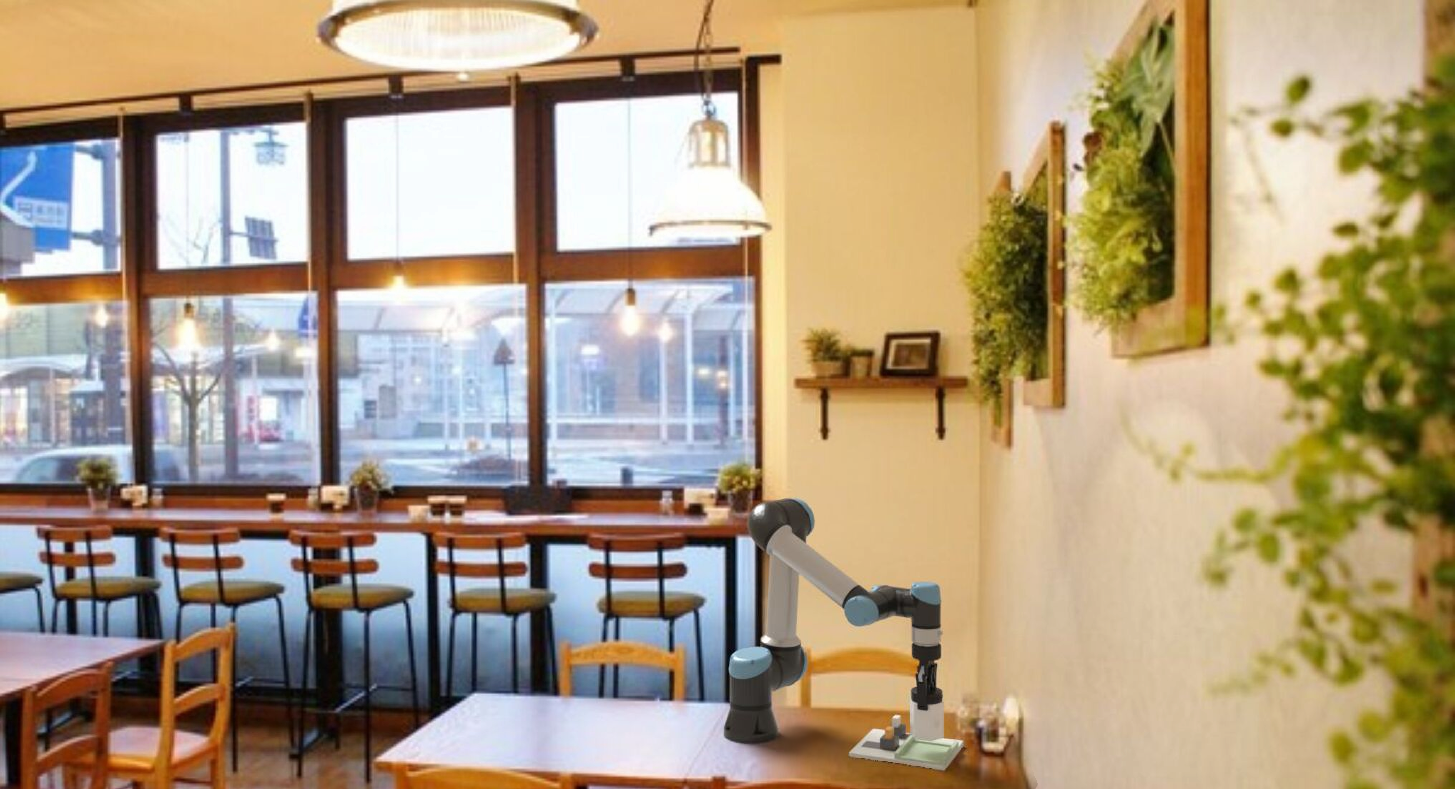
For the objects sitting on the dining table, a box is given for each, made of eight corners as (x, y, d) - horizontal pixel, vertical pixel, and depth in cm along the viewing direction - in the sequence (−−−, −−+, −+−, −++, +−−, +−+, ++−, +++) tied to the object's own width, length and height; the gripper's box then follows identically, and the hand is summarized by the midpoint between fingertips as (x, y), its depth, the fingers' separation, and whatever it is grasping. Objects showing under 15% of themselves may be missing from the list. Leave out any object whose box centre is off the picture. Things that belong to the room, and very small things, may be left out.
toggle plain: (887, 735, 292) (887, 717, 292) (891, 731, 295) (891, 713, 295) (901, 737, 290) (901, 719, 290) (905, 733, 294) (905, 715, 294)
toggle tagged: (880, 747, 282) (879, 729, 282) (884, 743, 286) (884, 724, 286) (894, 749, 281) (894, 731, 280) (899, 745, 284) (899, 726, 284)
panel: (849, 758, 280) (848, 746, 280) (873, 733, 299) (873, 722, 299) (944, 772, 269) (944, 760, 269) (963, 746, 288) (963, 735, 288)
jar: (925, 743, 273) (925, 696, 273) (903, 734, 280) (903, 689, 280) (950, 736, 278) (950, 690, 278) (928, 728, 285) (928, 683, 285)
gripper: (933, 650, 270) (933, 744, 270) (947, 637, 284) (948, 726, 284) (903, 648, 273) (904, 740, 273) (919, 634, 287) (920, 722, 287)
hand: (927, 732), depth 279 cm, fingers closed on jar, 2 cm apart
